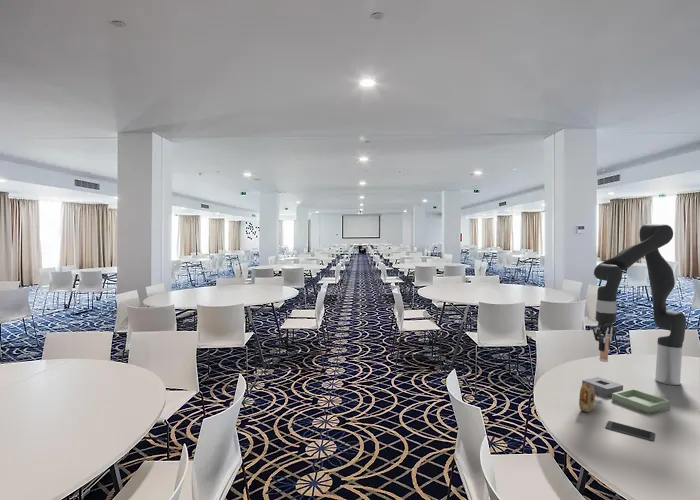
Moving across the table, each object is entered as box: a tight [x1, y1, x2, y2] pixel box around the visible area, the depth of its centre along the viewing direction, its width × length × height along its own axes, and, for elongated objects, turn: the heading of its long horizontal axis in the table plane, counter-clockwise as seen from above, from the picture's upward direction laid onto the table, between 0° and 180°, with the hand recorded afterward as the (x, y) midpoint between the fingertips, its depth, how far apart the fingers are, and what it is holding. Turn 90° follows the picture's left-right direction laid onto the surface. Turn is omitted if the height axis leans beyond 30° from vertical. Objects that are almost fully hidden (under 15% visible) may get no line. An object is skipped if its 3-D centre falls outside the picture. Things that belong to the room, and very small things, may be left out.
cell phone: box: [604, 420, 656, 442], centre depth 144 cm, size 7×14×1 cm, turn 51°
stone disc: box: [578, 384, 596, 413], centre depth 160 cm, size 10×4×10 cm, turn 134°
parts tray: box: [611, 388, 671, 415], centre depth 167 cm, size 14×14×3 cm
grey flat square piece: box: [581, 376, 624, 398], centre depth 181 cm, size 11×11×4 cm
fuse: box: [599, 336, 609, 363], centre depth 180 cm, size 3×3×11 cm
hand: (604, 350), depth 180 cm, fingers closed on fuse, 3 cm apart
